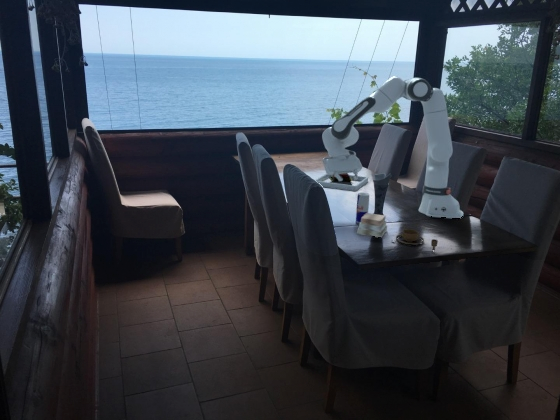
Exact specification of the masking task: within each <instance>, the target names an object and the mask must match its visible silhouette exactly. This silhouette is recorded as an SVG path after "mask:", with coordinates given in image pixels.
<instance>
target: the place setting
mask: <svg viewBox="0 0 560 420" xmlns="http://www.w3.org/2000/svg"><path fill="white" fill-rule="evenodd" d="M419 234H420V232H419V231H418V230H415V229H411V228H410V229H409V228H408V229H407V228H406V229H403V230H402V233H401V234H397V235H396V236H395V239H396V242H398V241H399V242H402V243H405V244H420V243H422V244H424V242H425V239H424V238H423V237H422V236H420V235H419ZM400 236H402V237H401V238H402V239H403V240H404V241H402V240H400V239H397V238H398V237H400ZM418 237H419V238H421V239H422V240H423V241H422V242H421V241H420V242H416V241H418V240H419V239H418ZM405 240H406V241H411V242H406V241H405ZM412 241H414V242H412ZM399 242H398V243H399ZM438 242H439V241H438V239H431V245H430V246H431V247H432V249H431V251H432V250H435V251H436V247H438ZM405 244H404V245H405Z"/></svg>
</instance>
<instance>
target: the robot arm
mask: <svg viewBox="0 0 560 420" xmlns="http://www.w3.org/2000/svg"><path fill="white" fill-rule="evenodd" d="M401 98H404V99H406V100H408V101H412V102H420V103H421V105H422V108H423V109H422V110H423V116H424V123H425V125H424V126H425V133H426V137H427V143H428V144H427V154H426V167H425V168H426V170H425V176H424V177H425V178H424V184H423V188H422V198H421V203H420V205H419V208H418V212H419V213H421V214H423V215H426V216H427V217H431V216H432V218H441V217H446V218H445V219H452V218H460V219H462V218H463V217H464V211H462V210H461V209H460V208H461V207H460V203H459V201H458V200H457V199H456V198H455V197H454V196H452V194H451V192H452V191H451V187H448V180H449V179H448V178H449V173H450V172H449V171H450V170H449V166H450V165H449V164H450V163H449V162H450V158H451V157H452V156H453V151H454V150H453V149H454V148H453V143H452V136H451V135H452V134H451V131H450V124H449V117H448V116H449V115H448V109H447V108H448V107H447V103H446V98H445V95H444V91H443V90H441V88H437V87H433V86H431V84H430V83H429V82H428V81H427V80H426V79H424V78H421V77H412V78H409V79H405V80H403V79H402V78H401V77H398V76H392V77H389V78H388V79H387V80H385V81H384V82H383V83H382V84H381V85H380V86H379V87H378V88H377V89H375V90H374V92H373V93H371V94H369V96H367V97H365V98H364V99H362V100H360V101H359V102H358V103H357V104H356V105H355V106H354V107H353V108H351V109H350V110H349V111H348V112H347V113H345V114H344V115H343V116H340V117H339V118H337V119H336V120H334V122H333V123H332V125H331V126H330V127H328V128H326V129H325V130H324V131H323V132H322V136H321V138H322V139H321V140H322V142H323V145H324V148H325V149H326V150H327V153H328V157H324V158H323V159H322V163H323V165H324V171H325V174H326V173H327V174H328V175H333V174H334V176H335V177H336V178H337V179H338V181H342V180H343V178H342V176H341V177H340V176H339V175H338V174H343V173H348V174H354V179H358V176H359V174H358V173H360V172H361V171H362V169H363V165H362V163H361V161H360V158H358V157H357V153H356V152H355V151H353V150H349V149H346V148H348V147H351V146H353V145H355V144H356V143H357V142H358V140H359V138H360V133H359V131H358V130H357V129H356V128H355V127H354V125H355V124H357V122H359V121H360V119H361V118H362V119H363V117H364V116H366V114H369V113H375V114H383V113H385V112H387V111H388V110H389V109H391V108H392V107H393V106H394V104H395V103H396V102H397V101H399V99H401ZM462 216H463V217H462ZM461 217H462V218H461Z"/></svg>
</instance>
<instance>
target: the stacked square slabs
mask: <svg viewBox="0 0 560 420" xmlns="http://www.w3.org/2000/svg"><path fill="white" fill-rule="evenodd" d="M387 231H388V225H387V220H386V215H383V214H377V213H376V214H375V213H371V212H368V213H366V214H365V215H364V216H363V217H362V218H361V222H360V223H359V224H358V228H357V231H356V234H357V235H362V236H366V235H367V236H368V237H372V236H375V237H374V238H378V237H381V238H383V236H384V235H385V234H386V232H387ZM384 233H385V234H384Z"/></svg>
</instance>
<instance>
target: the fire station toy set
mask: <svg viewBox="0 0 560 420" xmlns="http://www.w3.org/2000/svg"><path fill="white" fill-rule="evenodd" d="M338 175H339V176H340V177H341V176H342V178H343V180H342V181H338V179H337V178H336V177H335V176H334V174H333V176H332V178H331V177H329V181H331V183H337V184H345V185H353V183H352V182H354V180H353V179H352V178H350V176H349V175H350V173H343V174H338Z"/></svg>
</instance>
